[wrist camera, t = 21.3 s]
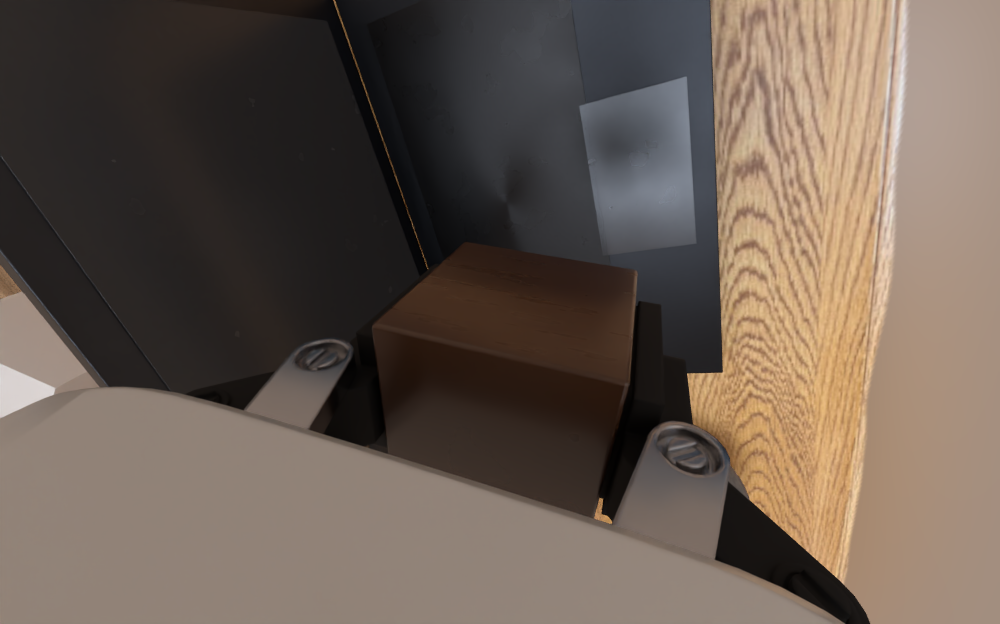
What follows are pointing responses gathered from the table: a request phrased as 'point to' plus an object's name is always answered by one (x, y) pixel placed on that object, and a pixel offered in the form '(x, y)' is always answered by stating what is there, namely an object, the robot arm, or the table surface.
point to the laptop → (558, 138)
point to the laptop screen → (193, 185)
